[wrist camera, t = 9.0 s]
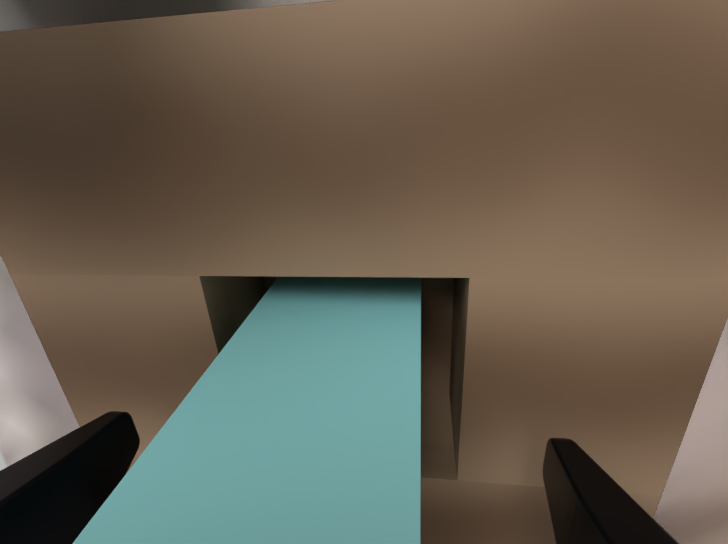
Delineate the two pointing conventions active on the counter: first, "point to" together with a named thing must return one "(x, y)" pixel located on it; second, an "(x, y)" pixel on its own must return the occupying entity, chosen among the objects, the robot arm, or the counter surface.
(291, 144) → the walnut socket
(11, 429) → the counter surface
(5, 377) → the counter surface
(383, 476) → the teal peg
